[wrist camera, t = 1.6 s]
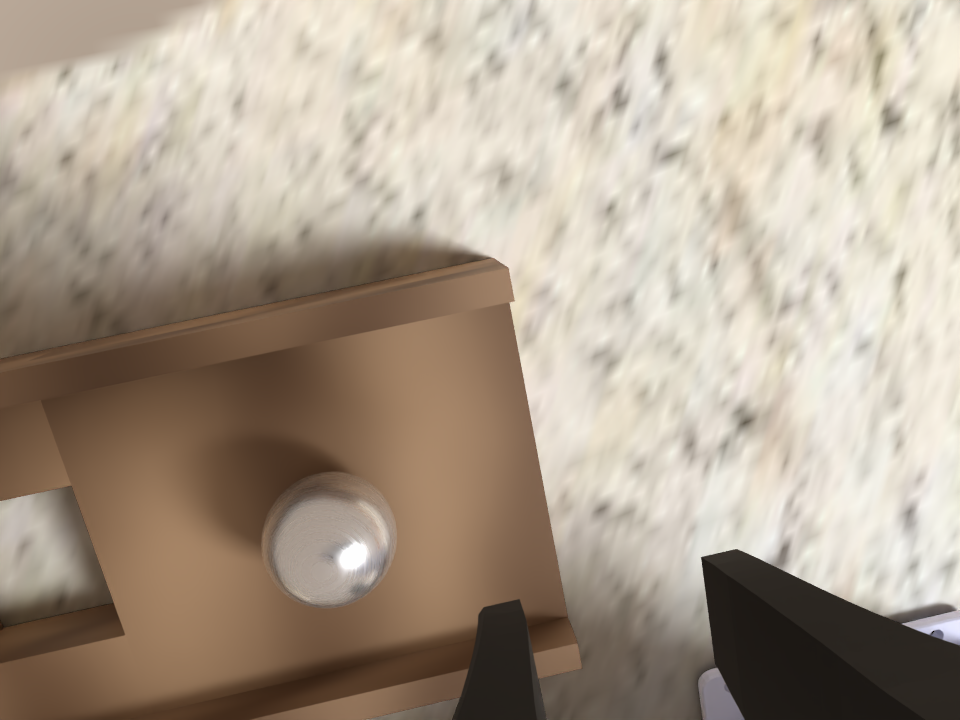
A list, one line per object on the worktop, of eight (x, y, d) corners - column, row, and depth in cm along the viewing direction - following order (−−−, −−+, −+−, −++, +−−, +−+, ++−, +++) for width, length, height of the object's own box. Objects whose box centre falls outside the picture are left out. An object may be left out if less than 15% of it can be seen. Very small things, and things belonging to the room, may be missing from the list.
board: (492, 257, 19) (508, 267, 16) (558, 602, 22) (582, 668, 19) (-168, 393, 18) (-287, 431, 15) (-19, 735, 21) (-95, 827, 18)
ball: (383, 441, 18) (377, 490, 15) (410, 550, 19) (408, 619, 16) (261, 467, 18) (229, 523, 15) (293, 576, 18) (268, 651, 15)
